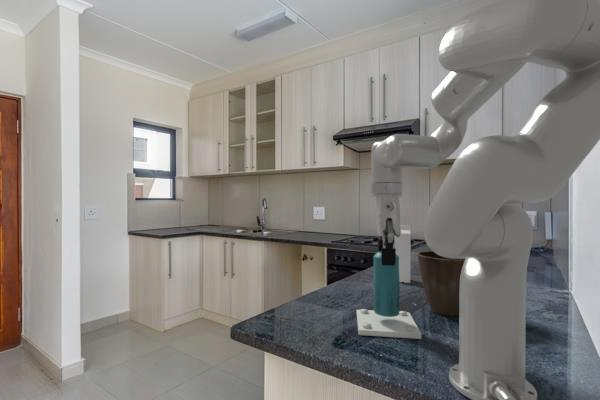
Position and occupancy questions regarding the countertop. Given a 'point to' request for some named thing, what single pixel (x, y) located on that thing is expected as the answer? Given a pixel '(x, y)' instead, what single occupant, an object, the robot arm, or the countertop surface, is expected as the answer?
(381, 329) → the base plate
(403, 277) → the milk
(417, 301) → the countertop surface
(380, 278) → the beverage bottle
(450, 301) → the plant pot
